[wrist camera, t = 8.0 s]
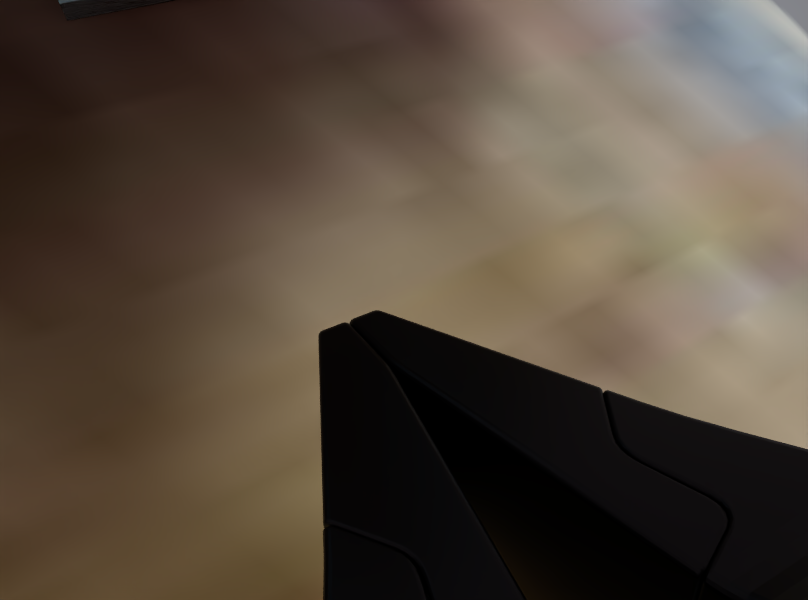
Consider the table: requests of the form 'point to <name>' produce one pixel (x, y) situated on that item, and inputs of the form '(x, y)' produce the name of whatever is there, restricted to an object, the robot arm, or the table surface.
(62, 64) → the table surface
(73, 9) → the sweeper
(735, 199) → the table surface
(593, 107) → the table surface
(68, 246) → the table surface
